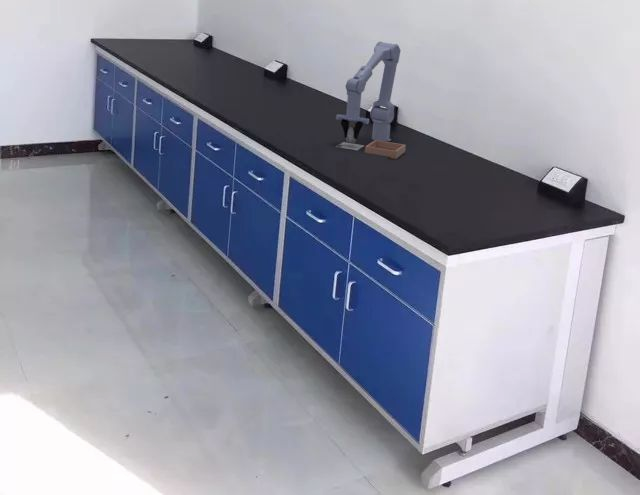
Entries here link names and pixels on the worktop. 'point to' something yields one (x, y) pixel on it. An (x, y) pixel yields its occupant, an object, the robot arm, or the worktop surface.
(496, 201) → the worktop surface
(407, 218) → the worktop surface
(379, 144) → the bin
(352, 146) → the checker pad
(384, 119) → the robot arm
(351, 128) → the cell
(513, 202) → the worktop surface
